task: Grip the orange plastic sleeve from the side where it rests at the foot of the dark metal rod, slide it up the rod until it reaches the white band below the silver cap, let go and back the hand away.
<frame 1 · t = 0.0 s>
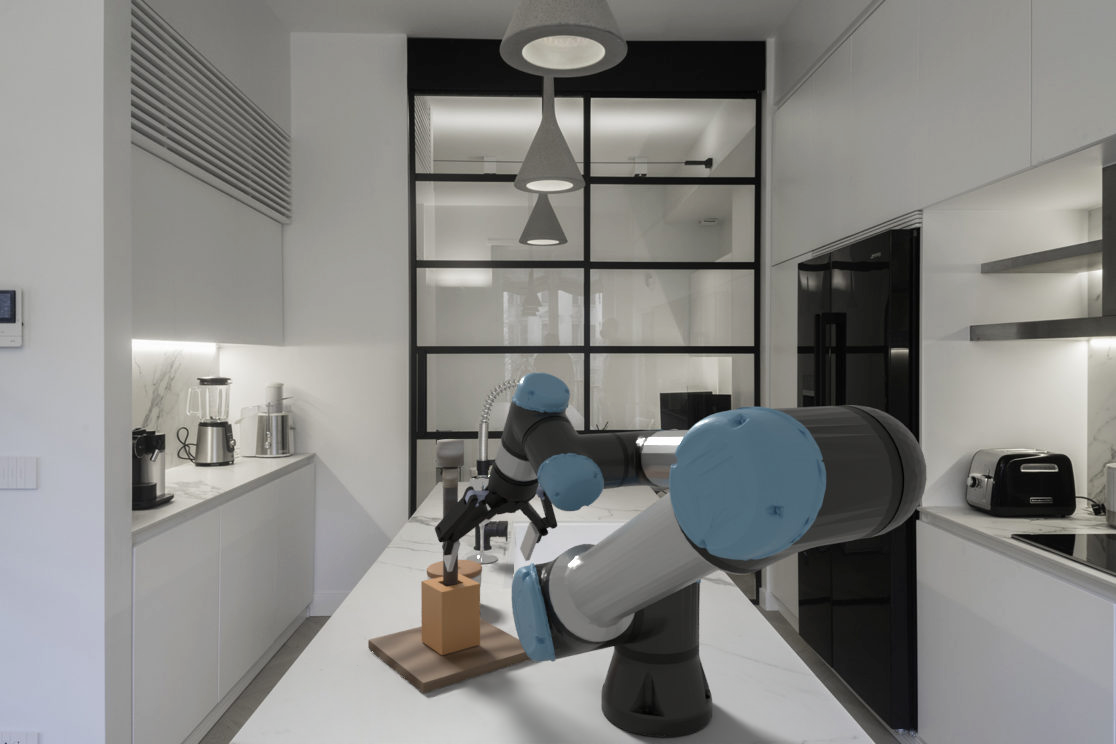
hand: (487, 559, 117), 15 cm above the counter, tool tilted 35°, fingers open, 13 cm apart
stand: (450, 653, 116), on the counter
wineglass: (481, 560, 171), on the counter
lidded jar: (454, 607, 138), on the counter
sleeve: (450, 612, 116), point 7 cm above the counter, slide at 0.0 cm
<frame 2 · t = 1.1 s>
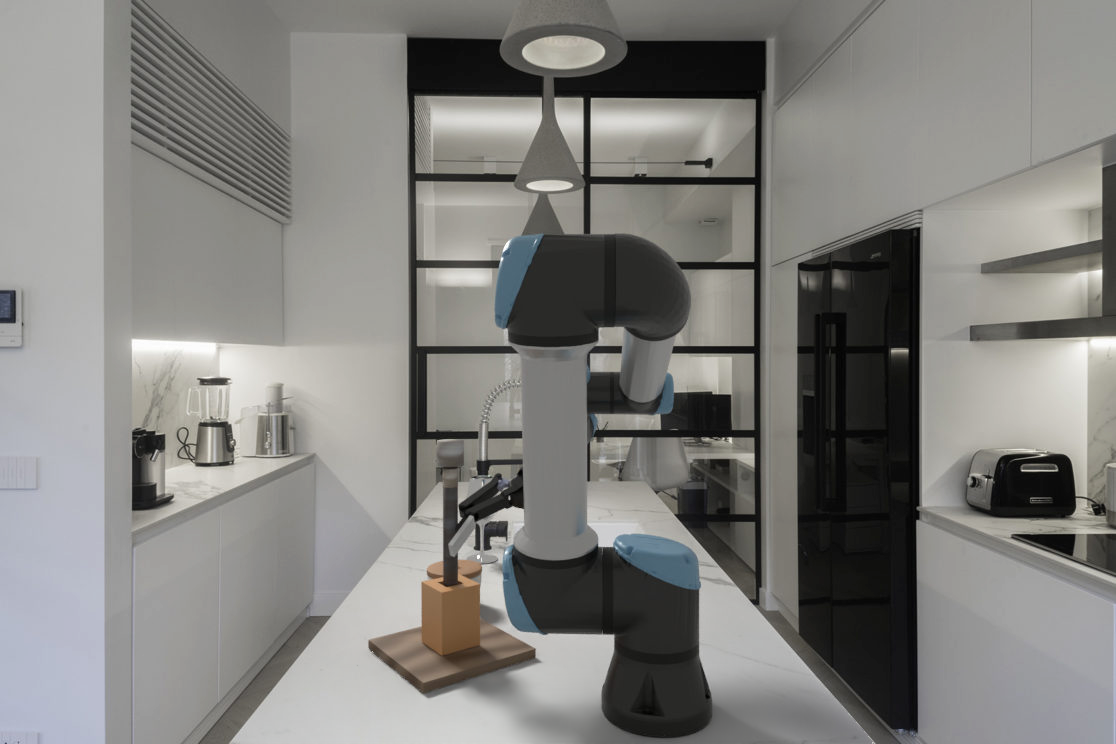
hand: (482, 563, 109), 17 cm above the counter, tool tilted 55°, fingers open, 11 cm apart
nothing on the counter moved.
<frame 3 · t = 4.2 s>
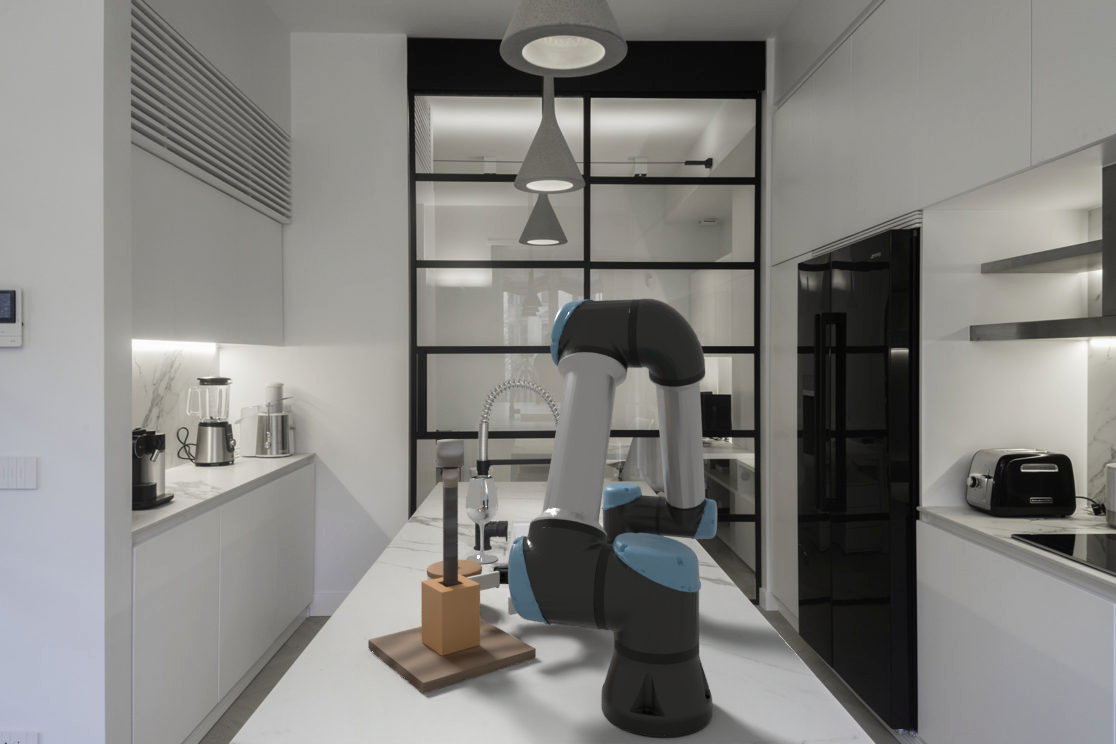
hand: (487, 595, 121), 8 cm above the counter, tool horizontal, fingers open, 13 cm apart
nothing on the counter moved.
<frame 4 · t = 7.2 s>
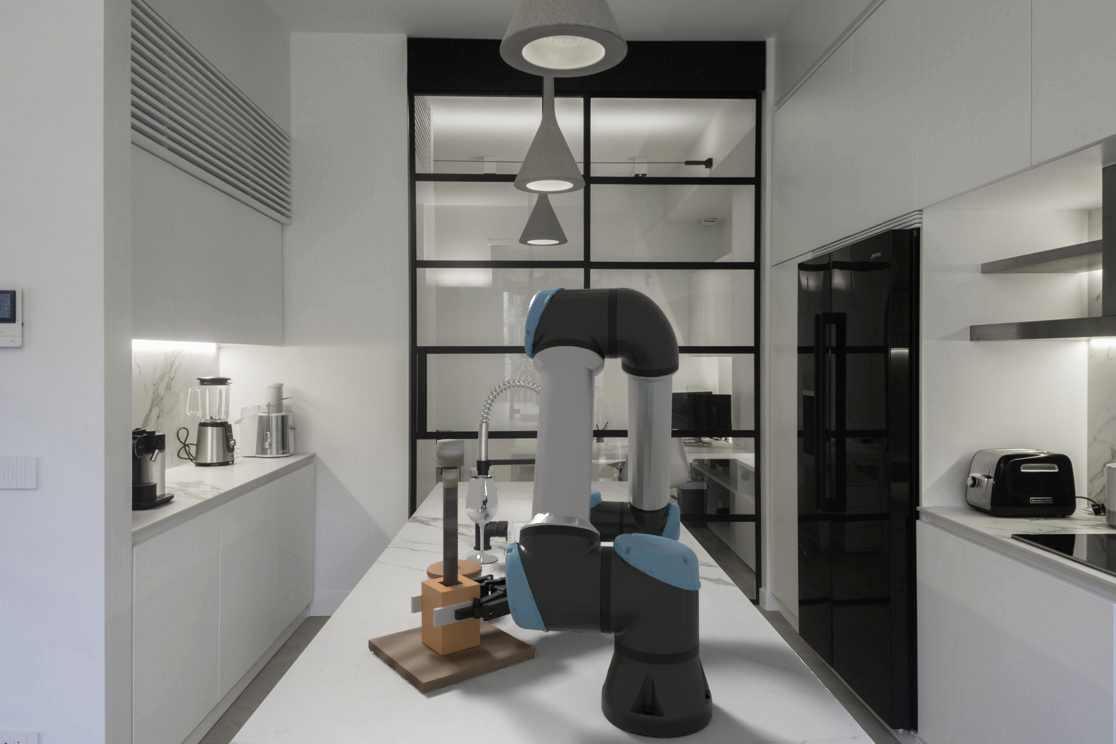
hand: (423, 611, 113), 8 cm above the counter, tool horizontal, fingers closed on sleeve, 7 cm apart
sleeve: (450, 613, 116), point 7 cm above the counter, slide at -0.1 cm, touching gripper
everything else where it was.
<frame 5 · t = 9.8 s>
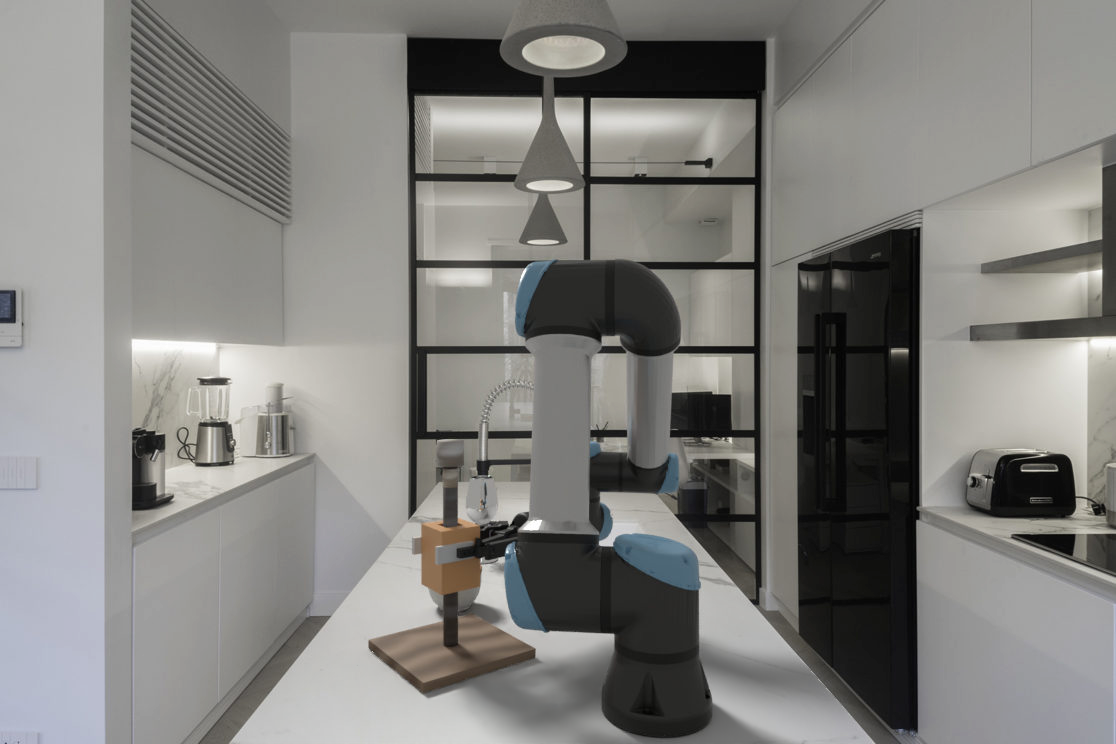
hand: (424, 550, 113), 18 cm above the counter, tool horizontal, fingers closed on sleeve, 7 cm apart
sleeve: (450, 555, 116), point 16 cm above the counter, slide at 9.5 cm, touching gripper
everything else where it was.
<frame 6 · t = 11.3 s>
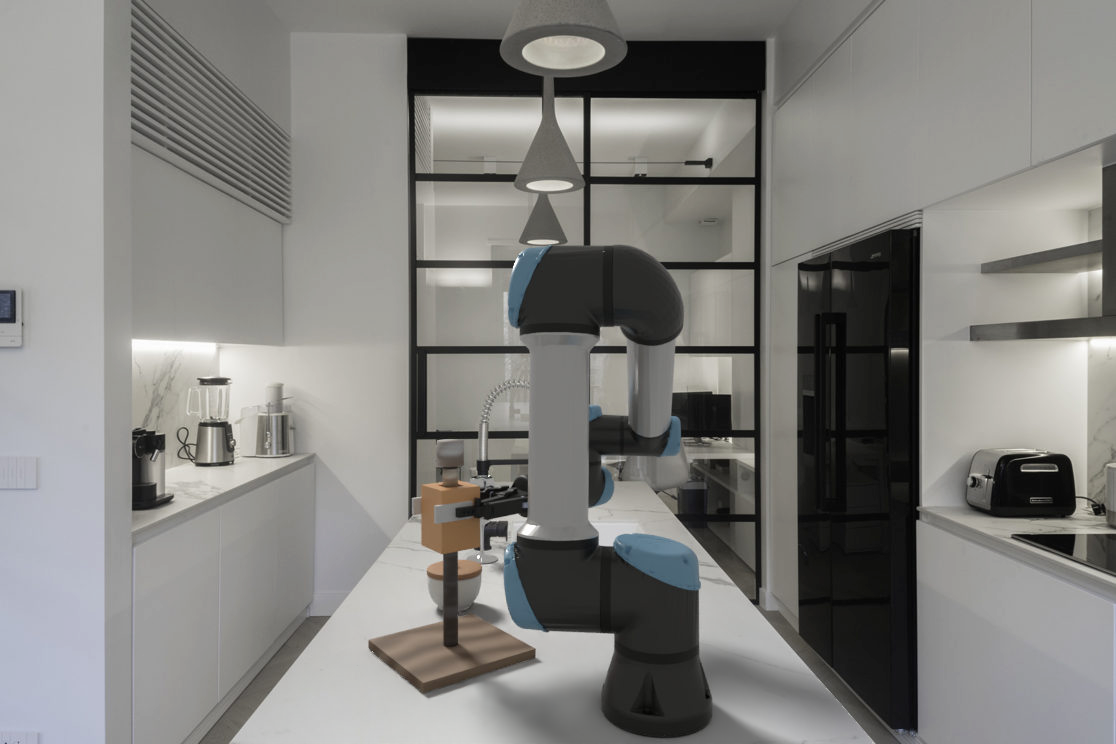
hand: (423, 510, 113), 24 cm above the counter, tool horizontal, fingers closed on sleeve, 7 cm apart
sleeve: (450, 515, 116), point 23 cm above the counter, slide at 16.0 cm, touching gripper
everything else where it was.
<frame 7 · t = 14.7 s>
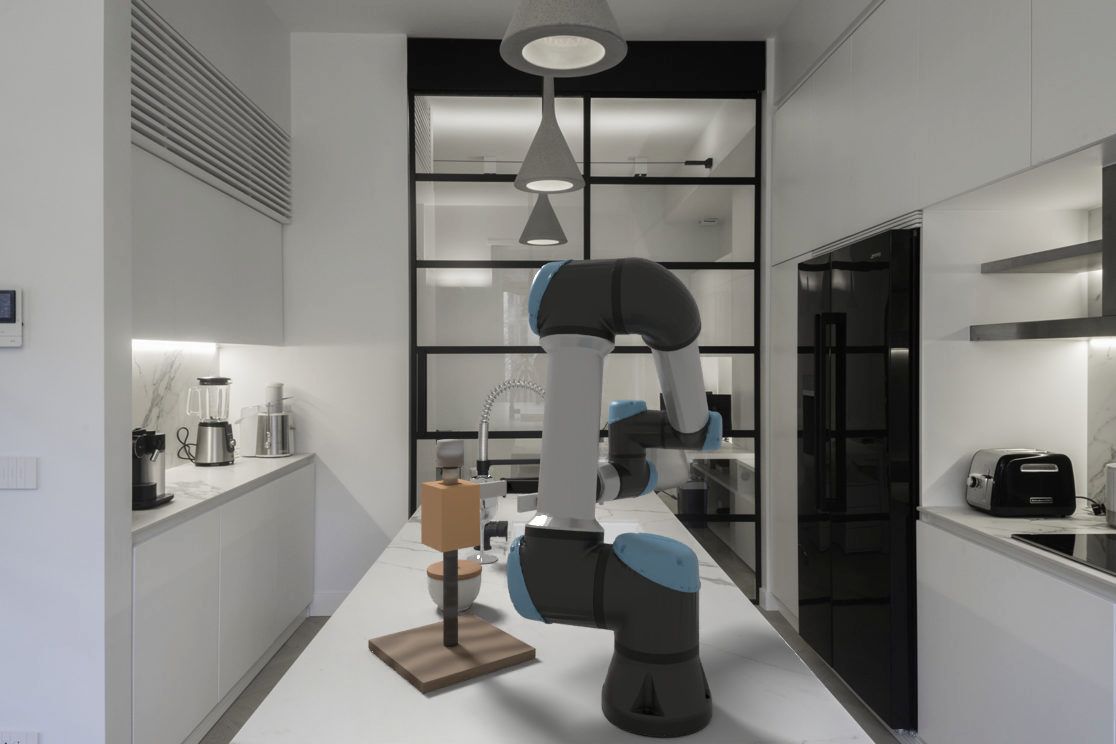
hand: (495, 497, 121), 25 cm above the counter, tool horizontal, fingers open, 13 cm apart
sleeve: (450, 513, 116), point 23 cm above the counter, slide at 16.3 cm
everything else where it was.
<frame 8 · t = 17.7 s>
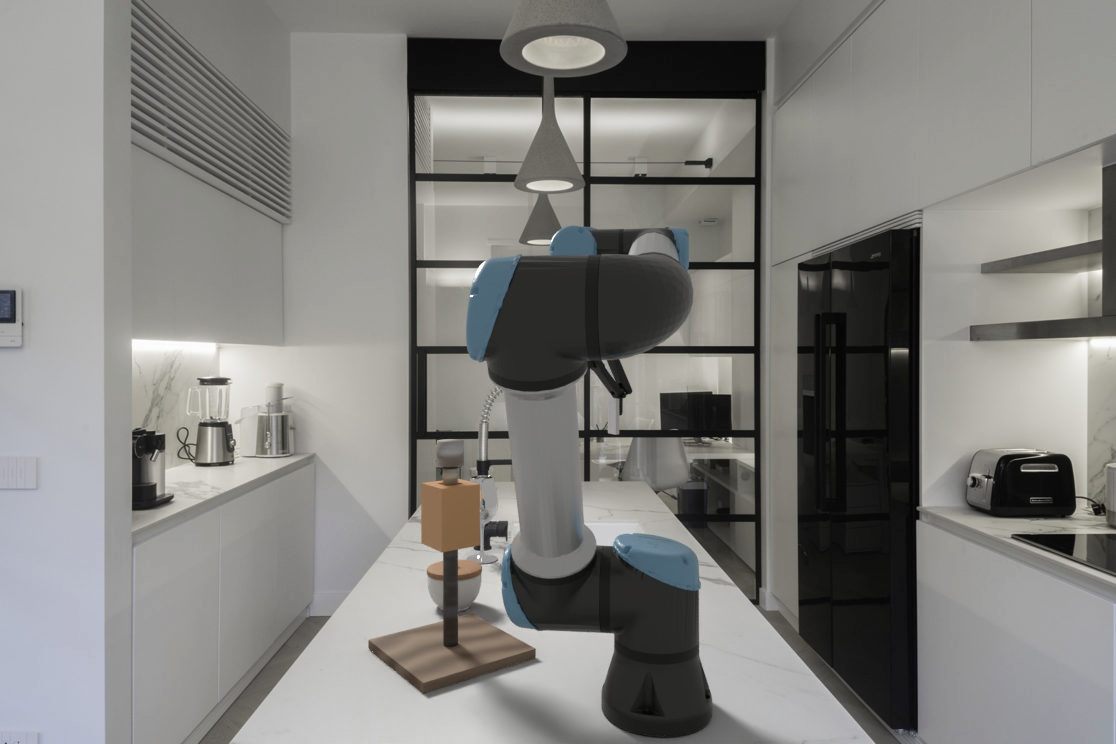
hand: (581, 435, 126), 35 cm above the counter, tool pointing down, fingers open, 13 cm apart
nothing on the counter moved.
at the end: sleeve slide at 16.3 cm; the gripper is holding nothing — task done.
